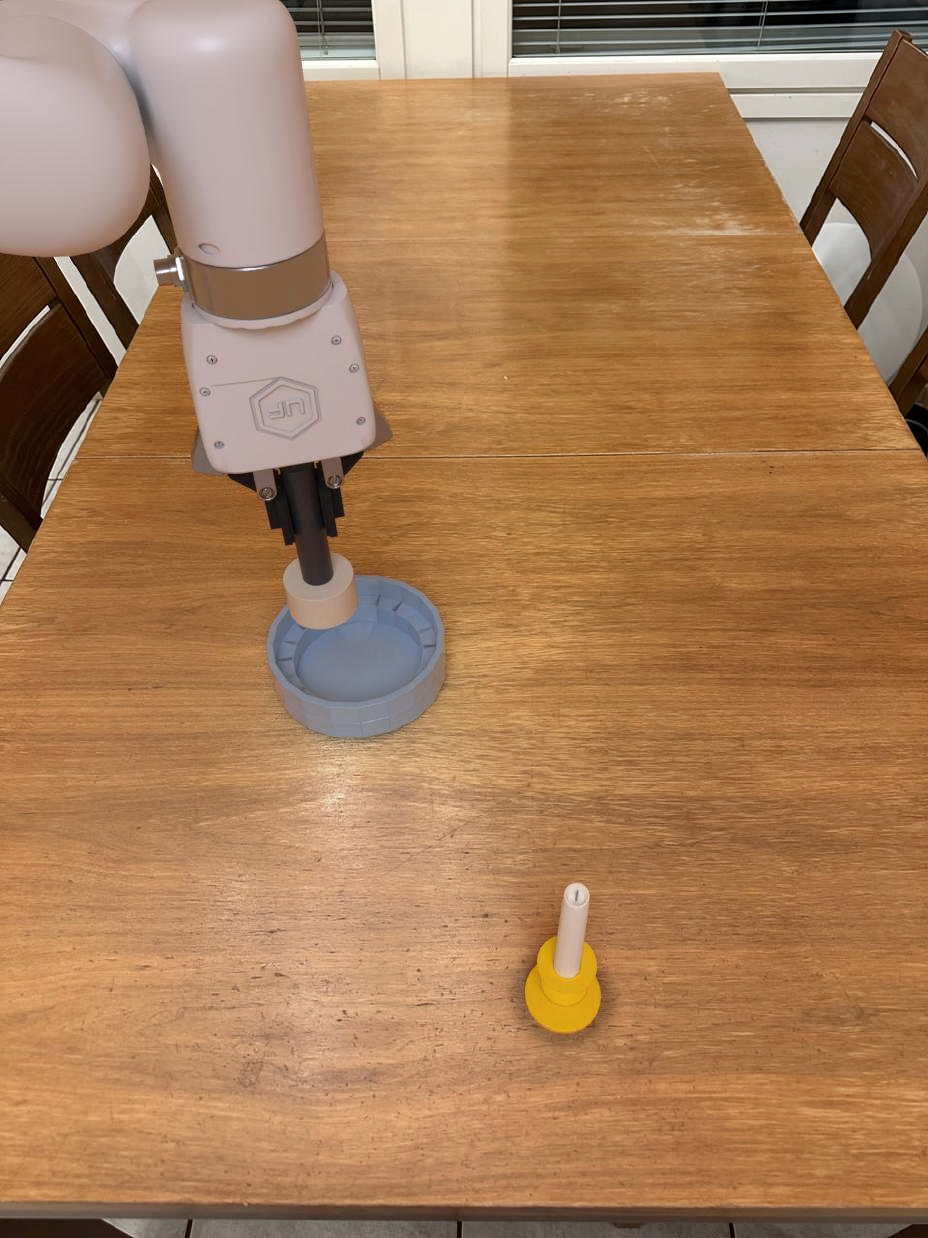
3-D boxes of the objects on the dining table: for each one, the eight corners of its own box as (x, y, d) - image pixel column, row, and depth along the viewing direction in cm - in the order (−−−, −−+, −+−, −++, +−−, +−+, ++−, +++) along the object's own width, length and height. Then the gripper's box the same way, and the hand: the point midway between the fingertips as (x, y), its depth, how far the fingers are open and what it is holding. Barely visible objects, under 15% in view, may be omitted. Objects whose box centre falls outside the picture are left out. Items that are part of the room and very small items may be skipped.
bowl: (288, 761, 79) (278, 725, 75) (266, 630, 89) (257, 593, 85) (465, 720, 81) (463, 684, 77) (424, 598, 91) (421, 560, 87)
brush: (293, 635, 67) (260, 493, 57) (285, 587, 70) (252, 445, 61) (363, 621, 68) (341, 479, 58) (352, 574, 71) (329, 432, 61)
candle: (590, 1044, 63) (613, 945, 51) (515, 1020, 64) (520, 918, 53) (607, 971, 66) (632, 862, 55) (535, 948, 67) (545, 838, 56)
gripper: (102, 326, 46) (191, 589, 60) (420, 280, 49) (437, 542, 62) (104, 256, 51) (186, 513, 65) (392, 217, 54) (413, 473, 67)
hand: (308, 526), depth 63 cm, fingers closed on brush
